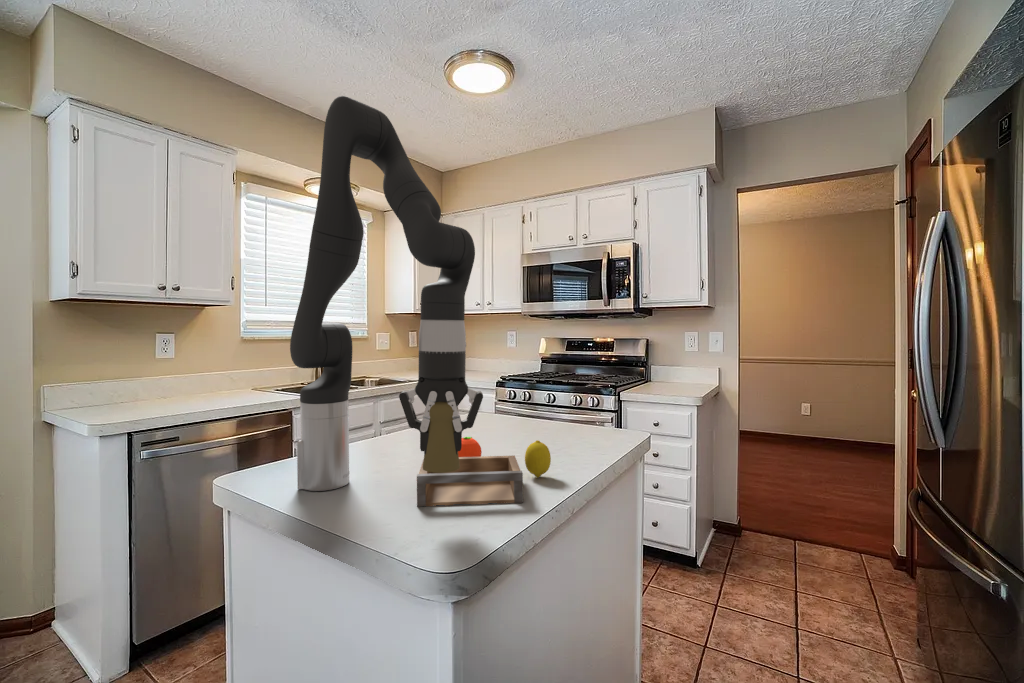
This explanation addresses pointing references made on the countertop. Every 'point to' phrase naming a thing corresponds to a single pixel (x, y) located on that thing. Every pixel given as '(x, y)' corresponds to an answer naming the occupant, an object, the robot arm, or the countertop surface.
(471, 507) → the countertop surface
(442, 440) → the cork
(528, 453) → the lemon
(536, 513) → the countertop surface
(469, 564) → the countertop surface
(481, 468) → the box
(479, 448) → the clementine
